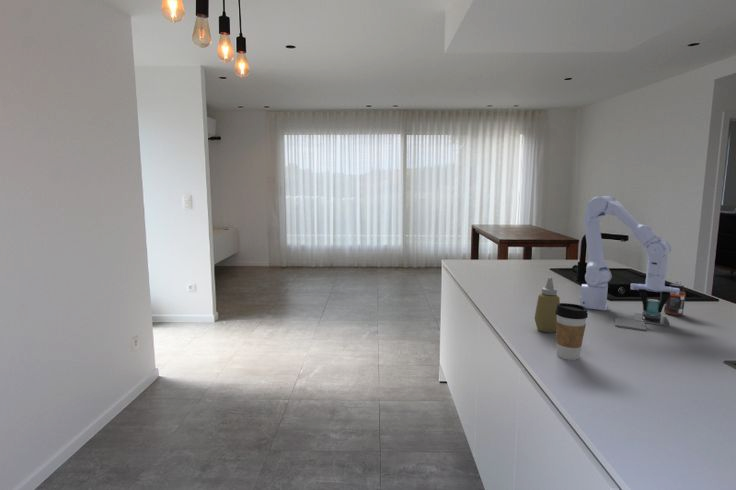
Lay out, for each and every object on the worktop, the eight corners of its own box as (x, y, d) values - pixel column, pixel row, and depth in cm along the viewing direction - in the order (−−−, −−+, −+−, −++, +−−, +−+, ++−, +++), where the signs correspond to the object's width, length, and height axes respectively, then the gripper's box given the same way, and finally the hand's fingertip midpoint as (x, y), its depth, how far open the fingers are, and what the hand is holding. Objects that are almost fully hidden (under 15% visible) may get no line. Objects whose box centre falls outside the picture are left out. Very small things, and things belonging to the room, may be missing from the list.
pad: (615, 326, 149) (615, 324, 148) (614, 319, 156) (615, 317, 156) (646, 331, 144) (646, 329, 144) (644, 323, 152) (644, 321, 152)
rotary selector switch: (635, 321, 154) (636, 313, 153) (634, 314, 162) (634, 306, 162) (669, 326, 149) (670, 318, 148) (665, 318, 158) (666, 310, 157)
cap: (644, 314, 154) (645, 300, 154) (643, 310, 158) (644, 297, 158) (660, 316, 152) (661, 302, 151) (658, 312, 156) (660, 299, 155)
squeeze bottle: (558, 327, 147) (562, 276, 145) (560, 335, 140) (564, 281, 137) (533, 324, 150) (536, 274, 147) (534, 332, 142) (537, 279, 140)
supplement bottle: (685, 316, 159) (690, 287, 158) (667, 315, 161) (671, 285, 159) (678, 312, 165) (682, 283, 163) (660, 310, 167) (664, 282, 165)
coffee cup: (546, 350, 127) (550, 301, 125) (573, 349, 128) (577, 301, 126) (561, 362, 119) (565, 310, 117) (590, 361, 120) (595, 309, 118)
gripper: (632, 274, 153) (629, 310, 155) (682, 278, 146) (678, 317, 148) (631, 270, 159) (628, 305, 161) (679, 274, 152) (675, 311, 154)
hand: (651, 311), depth 155 cm, fingers closed on cap, 4 cm apart
